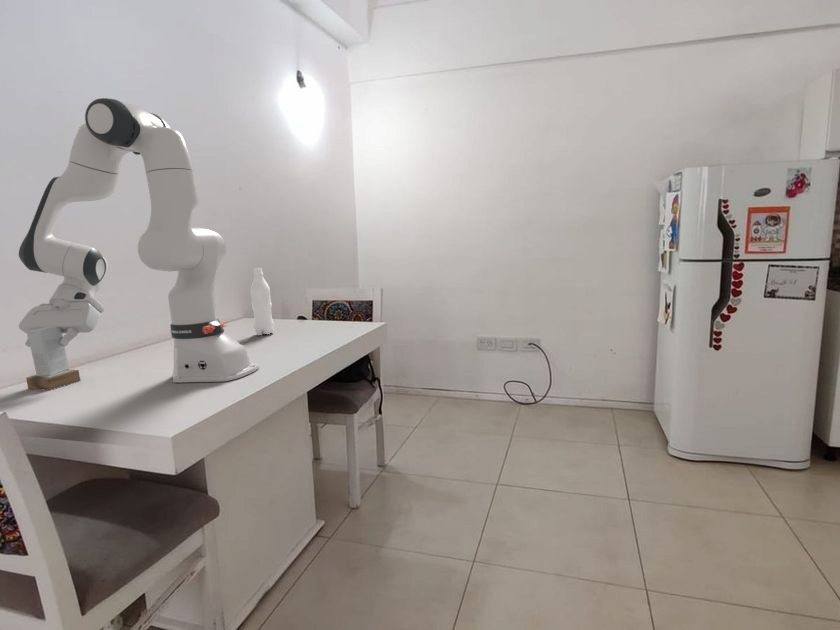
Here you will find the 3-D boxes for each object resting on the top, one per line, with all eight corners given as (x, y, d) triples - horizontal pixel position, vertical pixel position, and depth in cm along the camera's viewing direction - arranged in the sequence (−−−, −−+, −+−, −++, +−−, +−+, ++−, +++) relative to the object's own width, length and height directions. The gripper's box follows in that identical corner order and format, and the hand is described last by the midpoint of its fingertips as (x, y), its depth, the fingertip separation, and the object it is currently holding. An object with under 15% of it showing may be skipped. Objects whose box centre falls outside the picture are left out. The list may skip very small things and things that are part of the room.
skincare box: (55, 369, 131) (47, 326, 129) (69, 369, 131) (61, 325, 129) (35, 376, 125) (26, 330, 123) (49, 375, 125) (41, 330, 123)
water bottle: (268, 336, 179) (261, 268, 175) (251, 336, 181) (243, 269, 177) (278, 332, 186) (271, 267, 182) (261, 332, 188) (253, 267, 184)
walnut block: (80, 380, 131) (78, 369, 130) (50, 390, 123) (48, 377, 123) (59, 379, 133) (56, 368, 133) (28, 388, 126) (25, 376, 125)
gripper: (28, 297, 133) (0, 340, 125) (95, 294, 130) (71, 337, 122) (45, 310, 138) (20, 352, 130) (110, 308, 135) (88, 350, 127)
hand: (45, 345), depth 126 cm, fingers open, 8 cm apart
